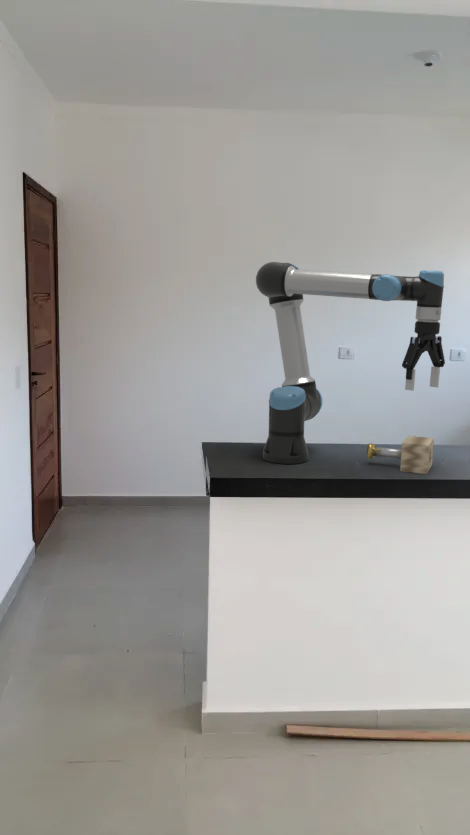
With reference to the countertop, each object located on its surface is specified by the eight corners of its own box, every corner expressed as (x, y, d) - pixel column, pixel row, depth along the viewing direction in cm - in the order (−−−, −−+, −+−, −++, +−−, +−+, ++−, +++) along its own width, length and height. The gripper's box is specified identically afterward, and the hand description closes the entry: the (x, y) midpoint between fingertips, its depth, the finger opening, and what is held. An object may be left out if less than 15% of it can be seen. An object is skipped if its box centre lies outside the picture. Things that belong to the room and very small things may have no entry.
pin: (366, 460, 224) (367, 444, 223) (369, 456, 229) (370, 441, 228) (409, 464, 219) (410, 449, 218) (411, 461, 223) (412, 446, 223)
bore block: (400, 471, 217) (402, 442, 215) (406, 462, 228) (408, 435, 226) (426, 474, 214) (428, 445, 212) (432, 465, 225) (433, 438, 223)
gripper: (415, 322, 206) (409, 393, 210) (460, 321, 222) (453, 387, 226) (393, 320, 211) (388, 389, 215) (439, 320, 228) (433, 384, 232)
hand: (421, 388), depth 221 cm, fingers open, 13 cm apart
